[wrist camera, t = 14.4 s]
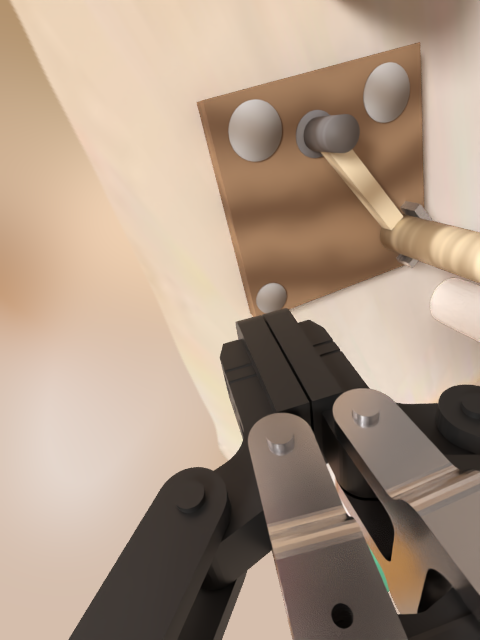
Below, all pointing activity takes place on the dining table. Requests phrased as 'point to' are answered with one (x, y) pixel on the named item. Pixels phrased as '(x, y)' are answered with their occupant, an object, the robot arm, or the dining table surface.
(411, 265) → the corner bracket
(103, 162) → the dining table surface
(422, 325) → the dining table surface
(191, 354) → the dining table surface
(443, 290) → the white pointed cylinder
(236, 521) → the robot arm
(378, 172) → the stool seat
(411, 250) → the hinged leg
